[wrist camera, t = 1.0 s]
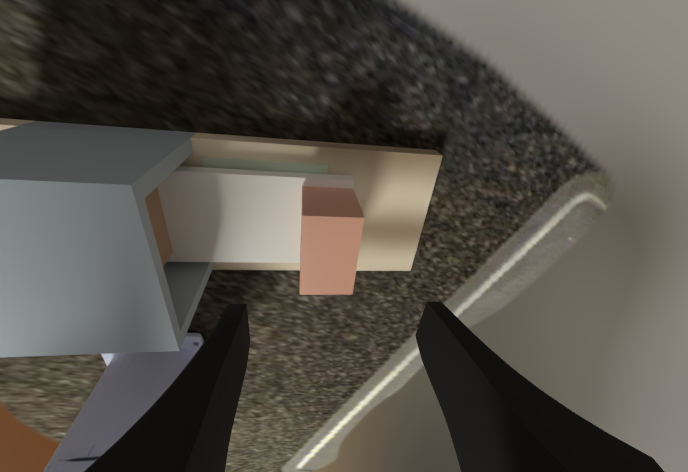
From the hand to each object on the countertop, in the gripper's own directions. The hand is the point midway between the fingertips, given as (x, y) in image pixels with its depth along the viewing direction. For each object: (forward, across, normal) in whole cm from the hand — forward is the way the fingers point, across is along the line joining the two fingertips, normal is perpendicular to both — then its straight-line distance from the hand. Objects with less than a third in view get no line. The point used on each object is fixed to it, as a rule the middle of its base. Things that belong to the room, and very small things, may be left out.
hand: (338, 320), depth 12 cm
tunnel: (+10, +12, 0) cm, 15 cm away
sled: (+9, +7, 0) cm, 11 cm away
